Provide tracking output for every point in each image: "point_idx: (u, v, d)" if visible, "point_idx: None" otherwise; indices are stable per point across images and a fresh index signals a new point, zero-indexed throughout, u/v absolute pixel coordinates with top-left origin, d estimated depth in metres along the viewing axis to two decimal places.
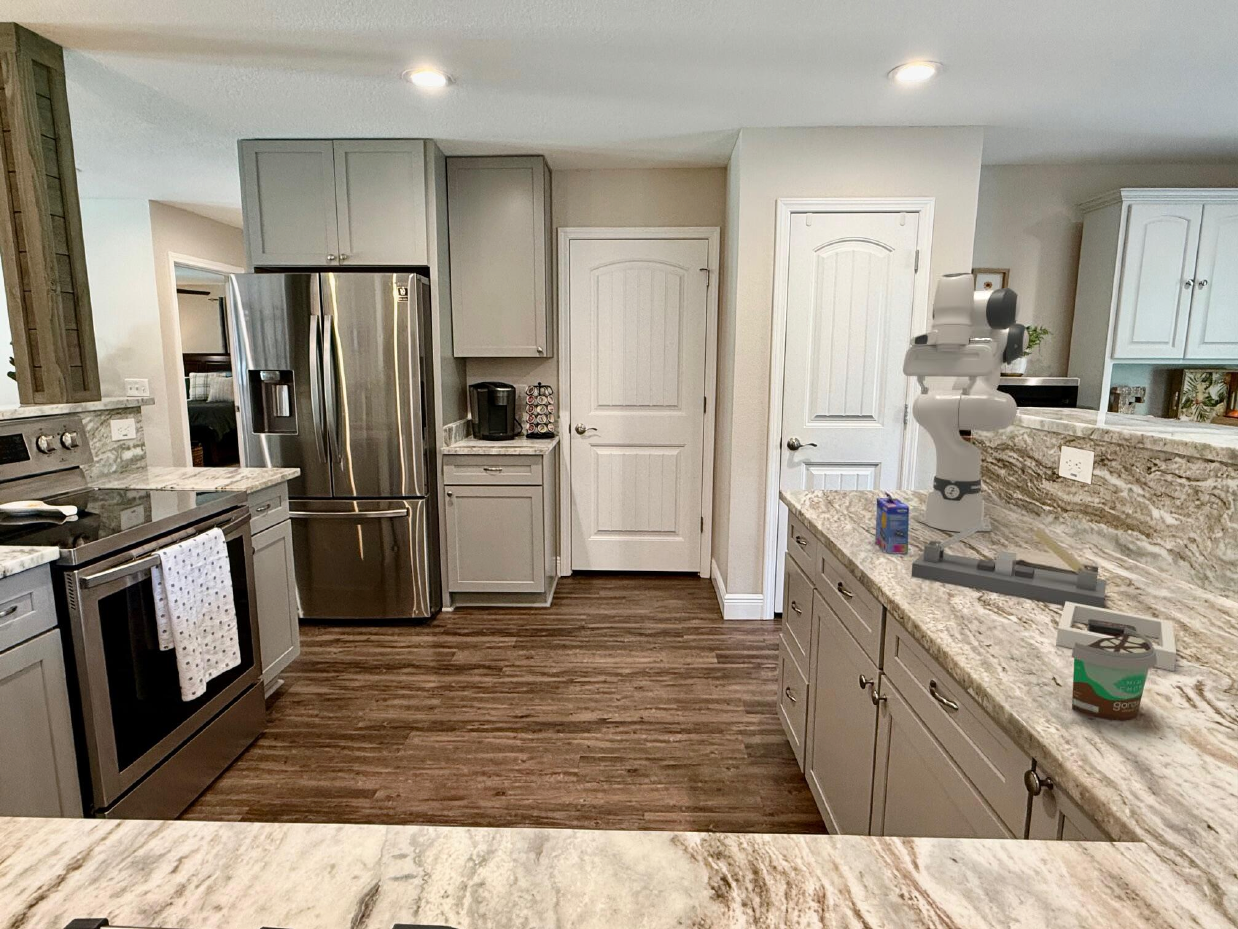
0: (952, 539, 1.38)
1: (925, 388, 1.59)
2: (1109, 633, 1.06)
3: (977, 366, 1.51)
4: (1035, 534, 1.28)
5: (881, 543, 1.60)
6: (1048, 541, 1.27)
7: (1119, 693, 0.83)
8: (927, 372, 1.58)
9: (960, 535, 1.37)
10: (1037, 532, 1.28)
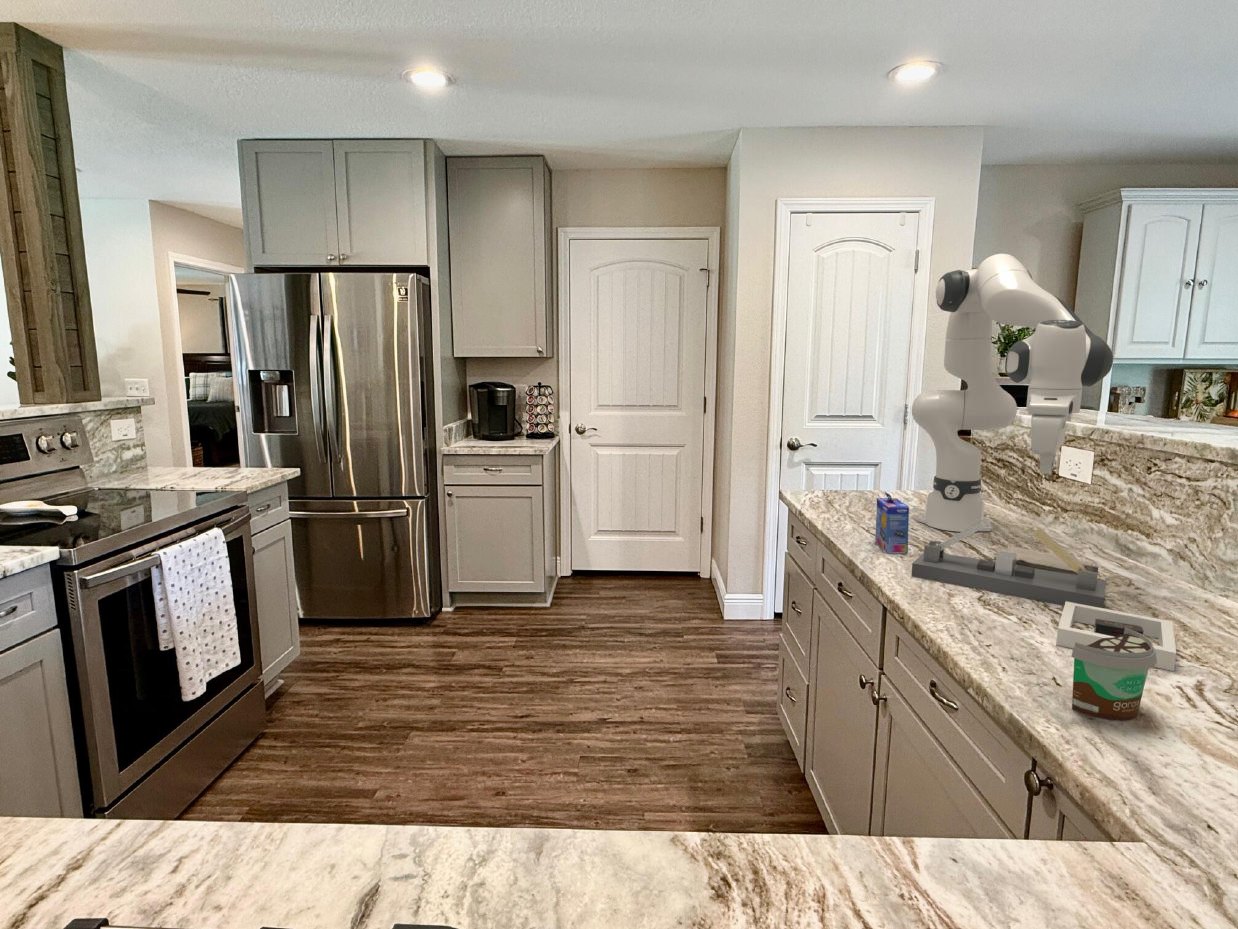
0: (952, 539, 1.38)
1: (1051, 466, 1.25)
2: (1115, 632, 1.06)
3: (1063, 435, 1.30)
4: (1035, 534, 1.28)
5: (881, 543, 1.60)
6: (1048, 541, 1.27)
7: (1119, 693, 0.83)
8: (1057, 448, 1.22)
9: (960, 535, 1.37)
10: (1037, 532, 1.28)
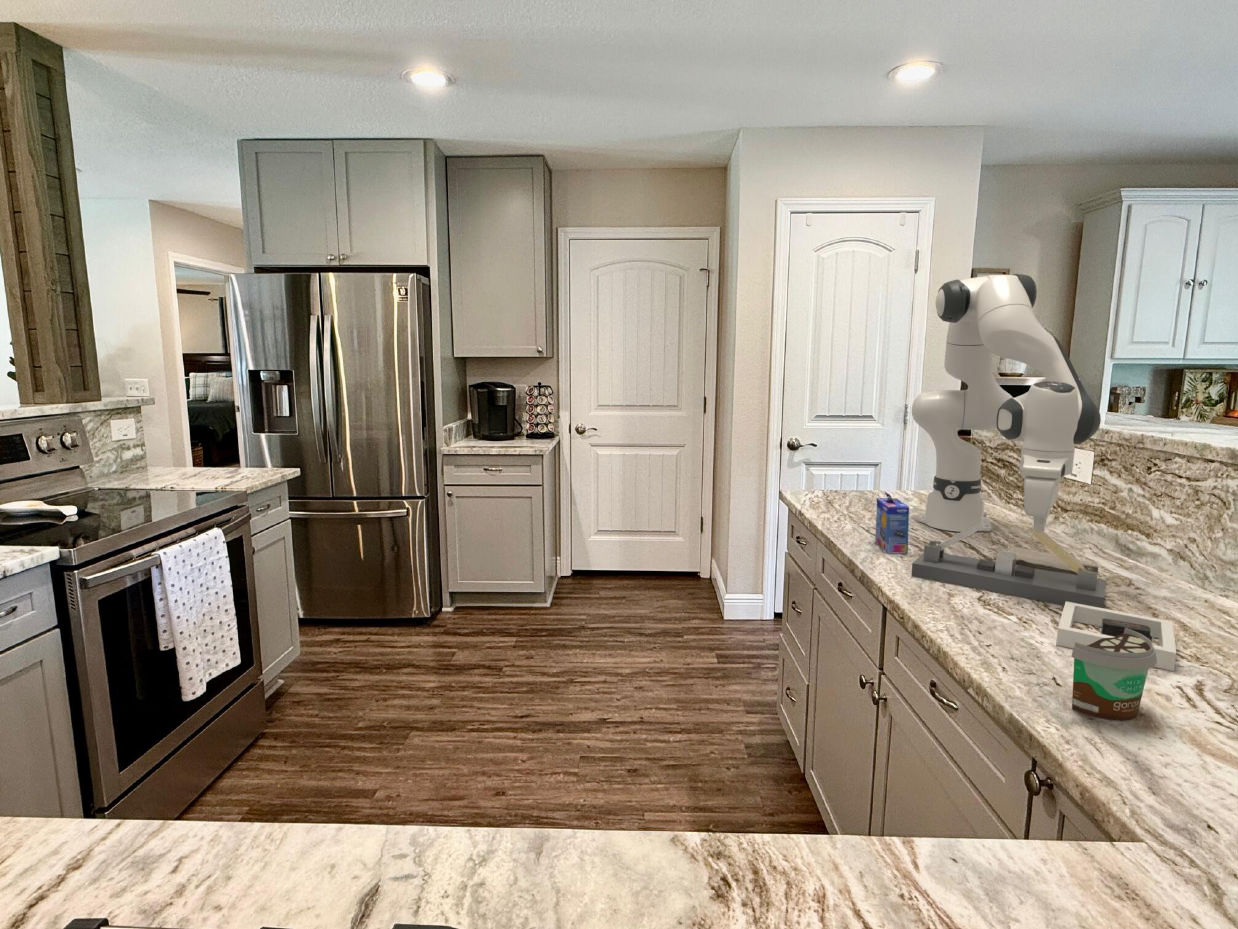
0: (952, 539, 1.38)
1: (1044, 524, 1.28)
2: (1122, 632, 1.06)
3: (1056, 492, 1.32)
4: (1034, 534, 1.29)
5: (881, 543, 1.60)
6: (1048, 541, 1.27)
7: (1119, 693, 0.83)
8: (1050, 509, 1.24)
9: (960, 535, 1.37)
10: (1036, 532, 1.28)
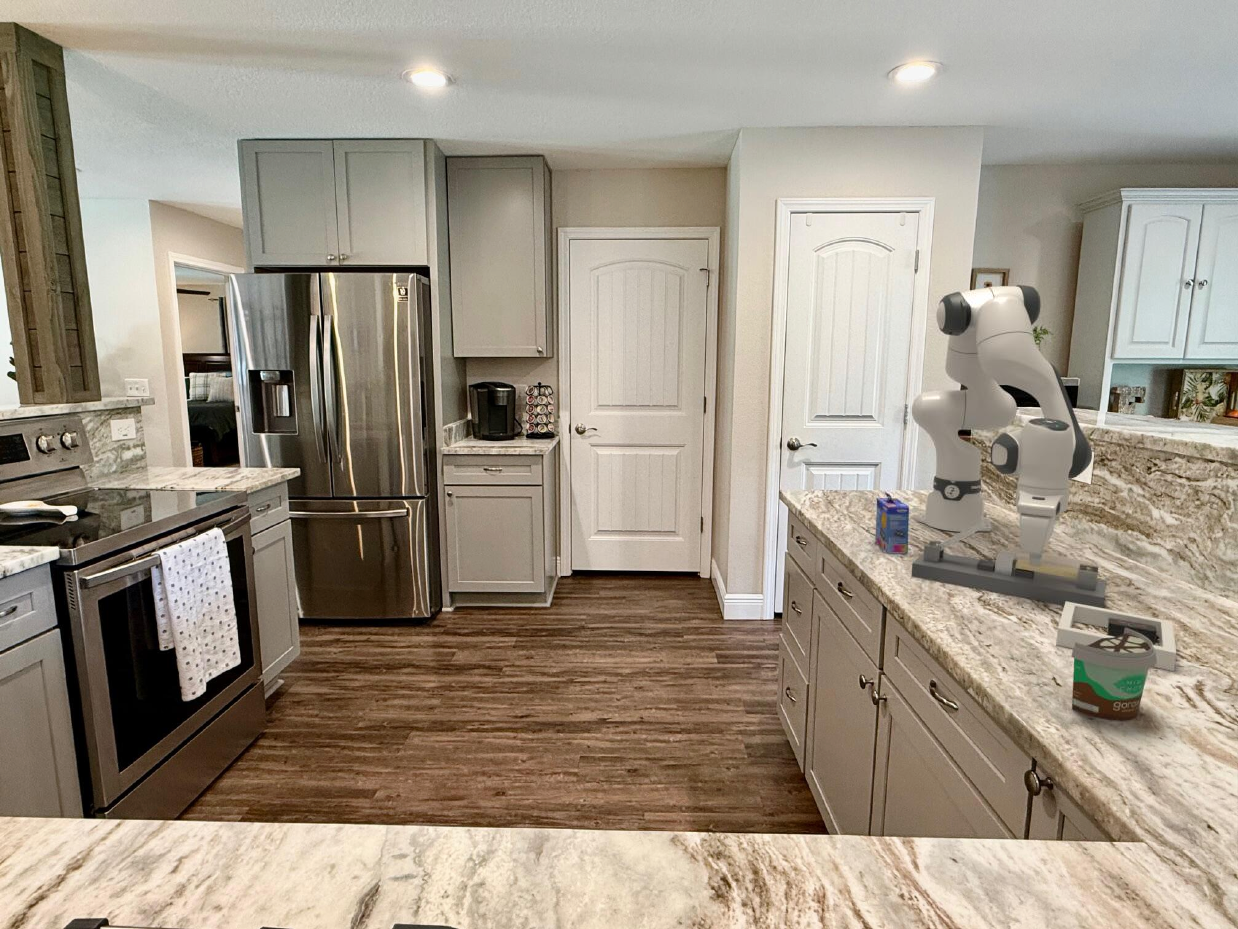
0: (952, 539, 1.38)
1: (1040, 559, 1.29)
2: None
3: (1052, 527, 1.33)
4: (1017, 567, 1.31)
5: (881, 543, 1.60)
6: (1031, 566, 1.30)
7: (1119, 693, 0.83)
8: (1045, 545, 1.25)
9: (960, 535, 1.37)
10: (1017, 564, 1.31)
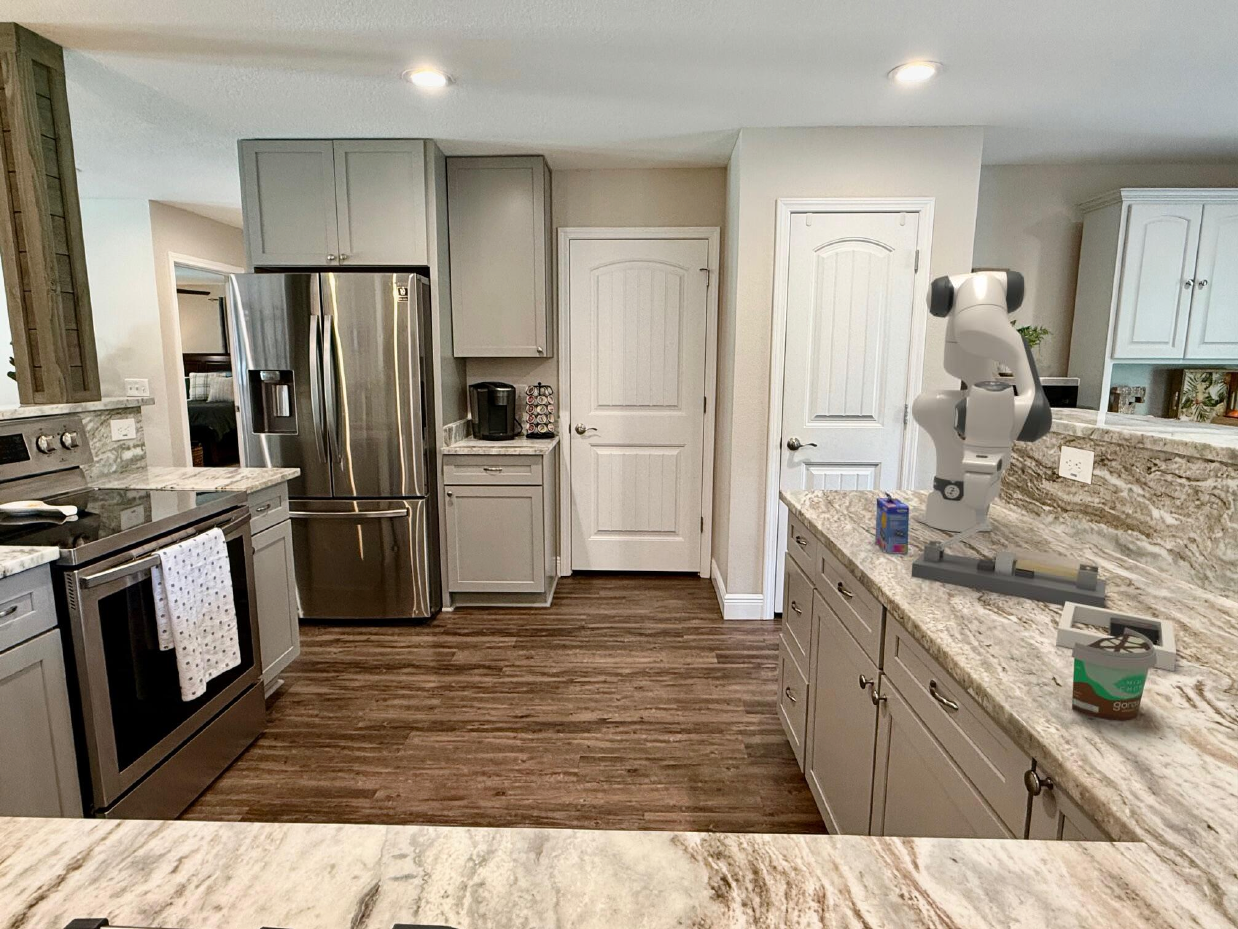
0: (952, 539, 1.38)
1: (986, 516, 1.35)
2: None
3: (998, 486, 1.39)
4: (1017, 567, 1.31)
5: (881, 543, 1.60)
6: (1031, 566, 1.30)
7: (1119, 693, 0.83)
8: (989, 502, 1.31)
9: (960, 535, 1.37)
10: (1017, 564, 1.31)
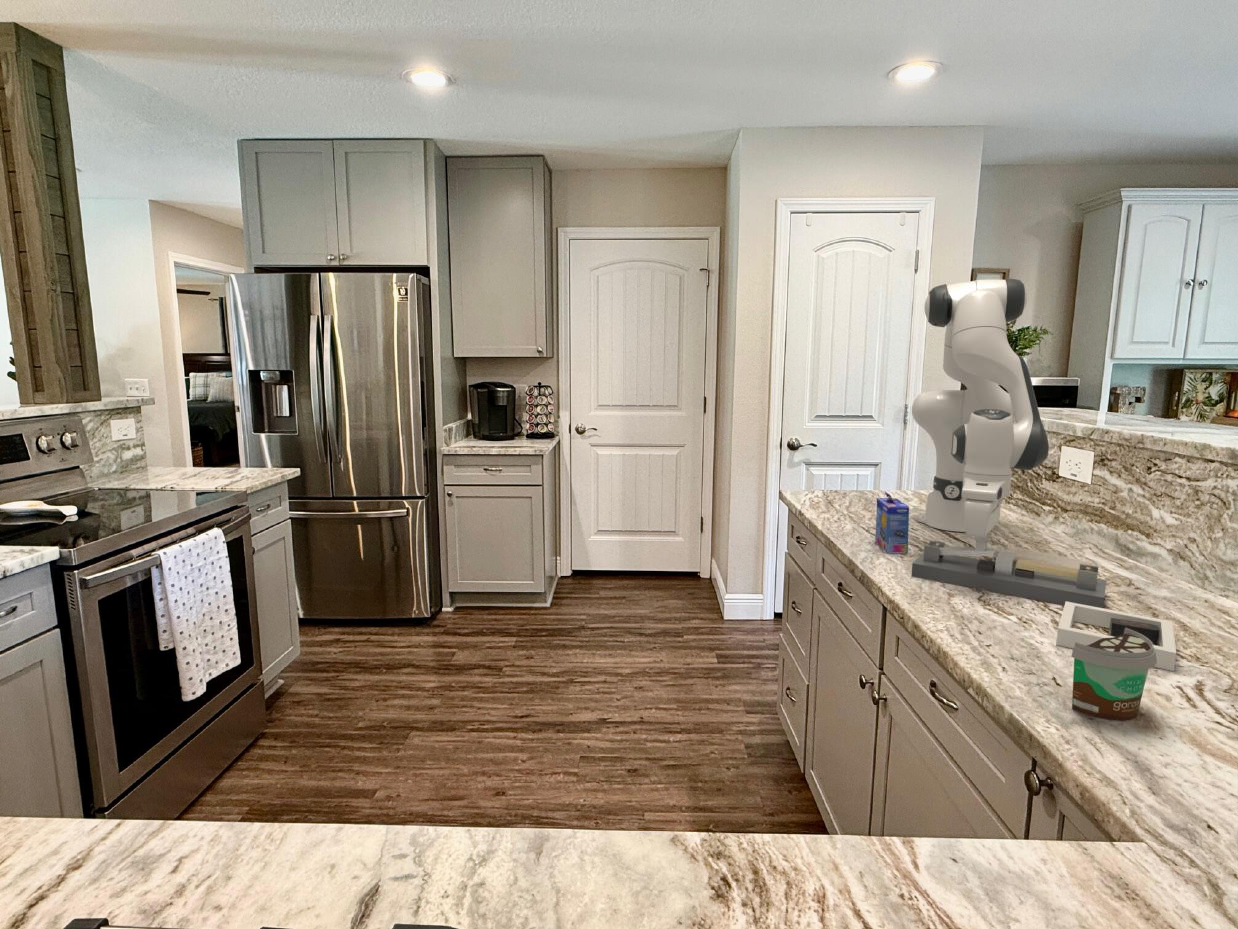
0: (958, 551, 1.38)
1: (986, 544, 1.35)
2: None
3: (998, 514, 1.39)
4: (1017, 567, 1.31)
5: (881, 543, 1.60)
6: (1031, 566, 1.30)
7: (1119, 693, 0.83)
8: (989, 529, 1.31)
9: (968, 551, 1.37)
10: (1017, 564, 1.31)
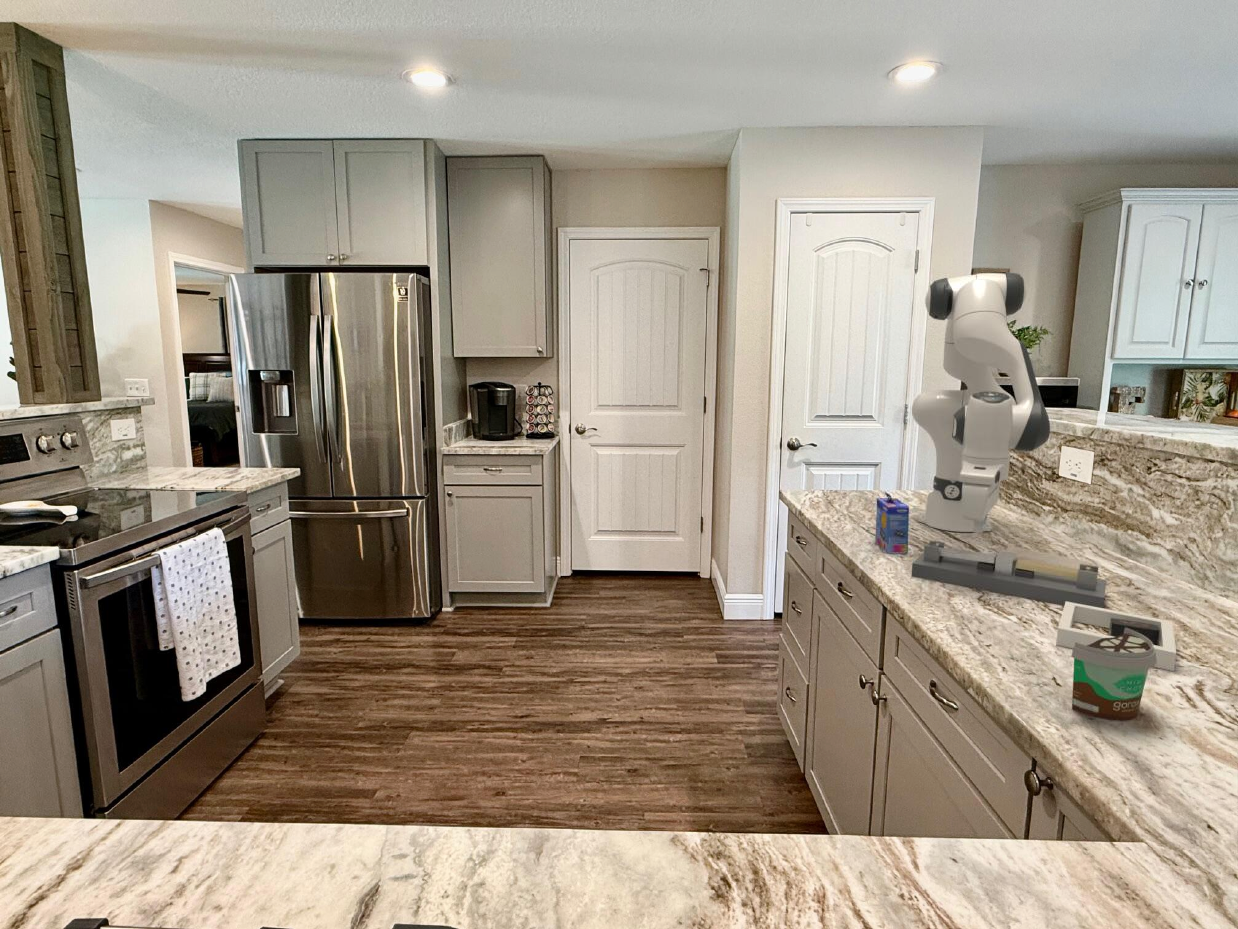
0: (958, 554, 1.38)
1: (984, 526, 1.36)
2: None
3: (996, 495, 1.40)
4: (1017, 567, 1.31)
5: (881, 543, 1.60)
6: (1031, 566, 1.30)
7: (1119, 693, 0.83)
8: (987, 512, 1.32)
9: (968, 556, 1.37)
10: (1017, 564, 1.31)
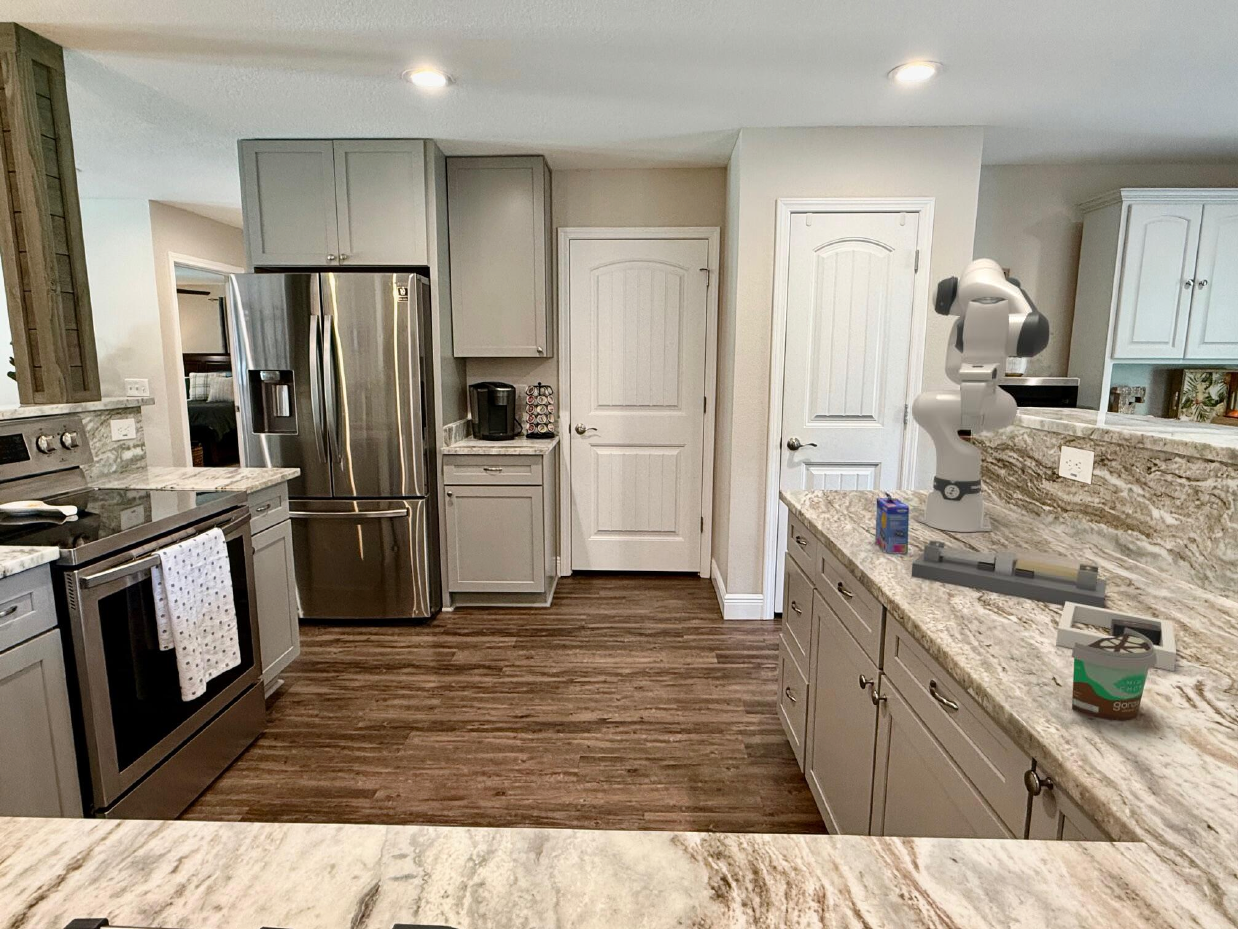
0: (958, 554, 1.38)
1: (981, 427, 1.42)
2: None
3: (994, 401, 1.46)
4: (1017, 567, 1.31)
5: (881, 543, 1.60)
6: (1031, 566, 1.30)
7: (1119, 693, 0.83)
8: (984, 410, 1.38)
9: (968, 556, 1.37)
10: (1017, 564, 1.31)
